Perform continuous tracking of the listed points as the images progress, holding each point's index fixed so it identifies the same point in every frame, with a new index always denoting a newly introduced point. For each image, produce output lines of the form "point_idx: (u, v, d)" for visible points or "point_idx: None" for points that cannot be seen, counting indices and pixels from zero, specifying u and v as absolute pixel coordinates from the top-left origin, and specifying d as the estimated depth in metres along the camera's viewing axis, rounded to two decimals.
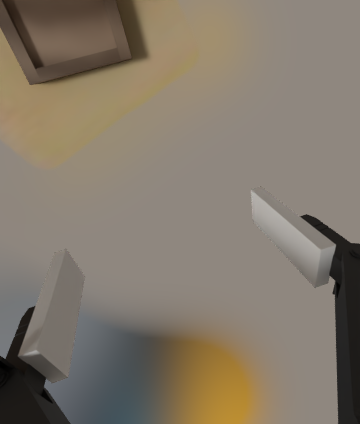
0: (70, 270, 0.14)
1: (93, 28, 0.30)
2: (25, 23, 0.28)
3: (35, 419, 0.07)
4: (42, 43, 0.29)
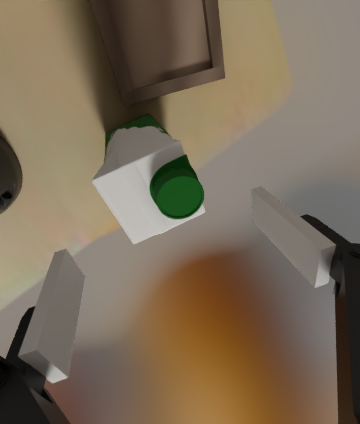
0: (70, 270, 0.14)
1: None
2: (176, 67, 0.30)
3: (35, 419, 0.07)
4: (190, 54, 0.30)
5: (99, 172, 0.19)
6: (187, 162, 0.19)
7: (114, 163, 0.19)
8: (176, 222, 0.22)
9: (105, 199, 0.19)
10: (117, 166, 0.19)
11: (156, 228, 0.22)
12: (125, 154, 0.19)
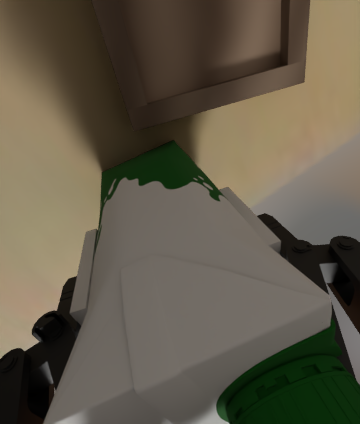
0: None
1: None
2: (223, 64, 0.17)
3: None
4: (250, 42, 0.17)
5: (71, 381, 0.06)
6: (333, 339, 0.06)
7: (116, 347, 0.06)
8: None
9: None
10: (127, 372, 0.06)
11: None
12: (149, 321, 0.06)
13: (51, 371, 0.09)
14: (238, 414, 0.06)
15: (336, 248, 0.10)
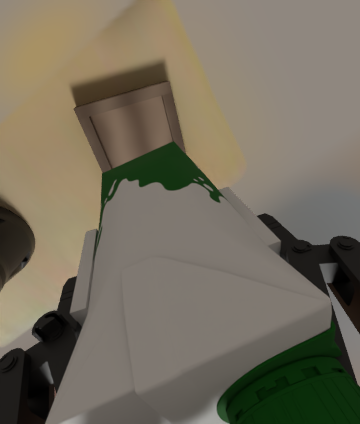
0: None
1: (148, 115, 0.35)
2: None
3: None
4: None
5: (72, 382, 0.06)
6: (333, 341, 0.07)
7: (117, 349, 0.06)
8: None
9: None
10: (128, 374, 0.06)
11: None
12: (150, 323, 0.06)
13: (51, 371, 0.09)
14: (238, 415, 0.06)
15: (336, 248, 0.10)
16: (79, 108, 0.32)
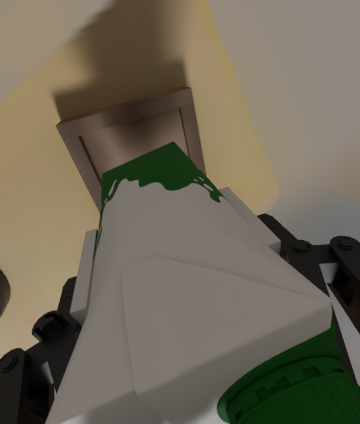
0: None
1: (160, 132, 0.26)
2: None
3: None
4: None
5: (72, 382, 0.06)
6: (333, 341, 0.07)
7: (118, 349, 0.06)
8: None
9: None
10: (129, 374, 0.06)
11: None
12: (150, 323, 0.06)
13: (51, 371, 0.09)
14: (239, 416, 0.06)
15: (336, 248, 0.10)
16: (64, 125, 0.23)
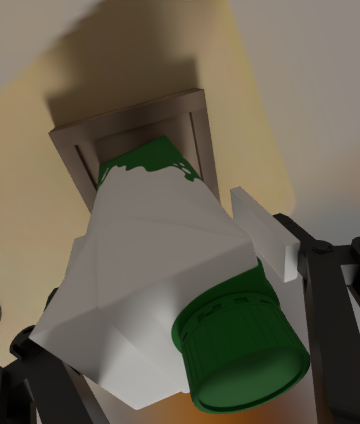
0: None
1: None
2: None
3: (65, 388, 0.08)
4: None
5: (53, 306, 0.08)
6: (263, 279, 0.08)
7: (89, 282, 0.08)
8: None
9: (69, 361, 0.08)
10: (95, 297, 0.07)
11: (182, 387, 0.11)
12: (115, 262, 0.08)
13: (32, 389, 0.08)
14: None
15: (358, 248, 0.10)
16: (58, 132, 0.20)
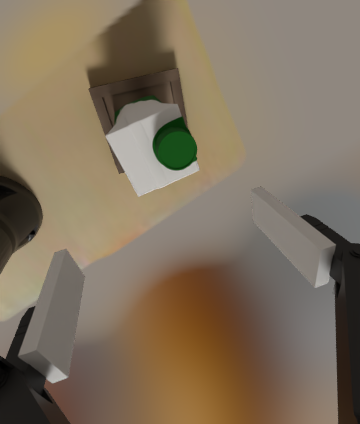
0: (70, 270, 0.14)
1: None
2: None
3: (34, 418, 0.07)
4: None
5: (111, 130, 0.23)
6: (183, 123, 0.23)
7: (124, 123, 0.23)
8: (174, 178, 0.26)
9: (116, 153, 0.24)
10: (126, 124, 0.23)
11: (157, 182, 0.26)
12: (133, 116, 0.23)
13: None
14: None
15: None
16: (93, 88, 0.35)
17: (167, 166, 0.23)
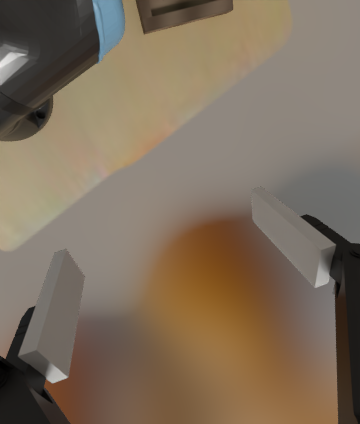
0: (70, 270, 0.14)
1: None
2: None
3: (35, 418, 0.07)
4: None
5: None
6: None
7: None
8: None
9: None
10: None
11: None
12: None
13: None
14: None
15: None
16: None
17: None
